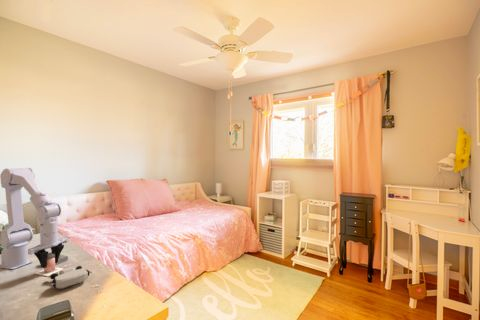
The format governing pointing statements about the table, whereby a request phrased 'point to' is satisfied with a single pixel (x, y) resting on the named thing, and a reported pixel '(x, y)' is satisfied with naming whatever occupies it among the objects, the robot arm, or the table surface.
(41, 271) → the cream rectangular plate
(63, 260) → the button housing
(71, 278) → the robot toy
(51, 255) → the marker
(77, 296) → the table surface
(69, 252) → the table surface
